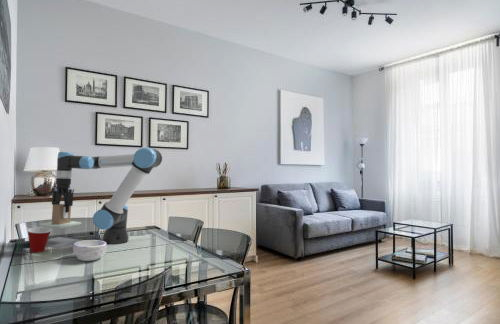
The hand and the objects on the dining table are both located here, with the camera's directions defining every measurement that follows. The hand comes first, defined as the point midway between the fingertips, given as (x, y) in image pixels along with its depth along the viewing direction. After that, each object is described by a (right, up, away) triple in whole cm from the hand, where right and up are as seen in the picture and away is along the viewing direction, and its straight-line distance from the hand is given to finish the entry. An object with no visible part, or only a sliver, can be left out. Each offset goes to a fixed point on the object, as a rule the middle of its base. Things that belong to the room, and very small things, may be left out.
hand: (61, 217), depth 181 cm
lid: (0, -4, 0) cm, 4 cm away
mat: (-1, -15, 0) cm, 15 cm away
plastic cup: (-1, -15, -19) cm, 24 cm away
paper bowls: (+29, -17, -24) cm, 41 cm away
